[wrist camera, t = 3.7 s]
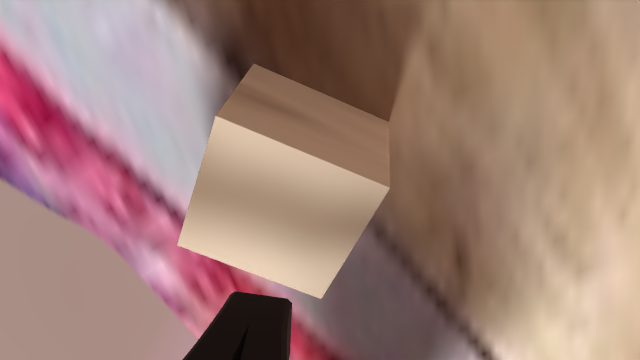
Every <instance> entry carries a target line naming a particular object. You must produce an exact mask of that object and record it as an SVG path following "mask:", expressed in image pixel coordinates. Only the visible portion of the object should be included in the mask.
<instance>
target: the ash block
mask: <svg viewBox="0 0 640 360" xmlns="http://www.w3.org/2000/svg"><path fill="white" fill-rule="evenodd" d="M389 189H390V143H389V122H388V121H386V120H383V119H381V118H379V117H376V116H374V115H372V114H369V113H367V112H365V111H362V110H360V109H358V108H356V107H353V106H351V105H349V104H346V103H344V102H342V101H339V100H337V99H335V98H332V97H330V96H328V95H325V94H323V93H321V92H319V91H316V90H314V89H312V88H309V87H307V86H305V85H302V84H300V83H298V82H295V81H293V80H291V79H288V78H286V77H284V76H282V75H279V74H277V73H275V72H272V71H270V70H268V69H265V68H263V67H261V66H258V65H256V64H253V65H252V67H251V68H250V69H249V71H248V72H247V74H246V75H245V76H244V78H243V79H242V80H241V82H240V83H239V84H238V86H237V87H236V89H235V90H234V91H233V93H232V94H231V95H230V97H229V98H228V100H227V101H226V102H225V104H224V105H223V106H222V108H221V109H220V110H219V112H218V113H217V115H216V116H215V120H214V123H213V126H212V130H211V133H210V136H209V140H208V143H207V147H206V150H205V153H204V157H203V160H202V163H201V167H200V170H199V174H198V177H197V180H196V184H195V187H194V190H193V194H192V197H191V201H190V204H189V207H188V211H187V214H186V217H185V221H184V224H183V228H182V231H181V234H180V238H179V241H178V244H177V245H178V246H181V247H183V248H186V249H189V250H191V251H194V252H197V253H199V254H202V255H205V256H207V257H210V258H213V259H215V260H218V261H221V262H223V263H226V264H229V265H231V266H234V267H237V268H239V269H242V270H245V271H247V272H250V273H253V274H255V275H258V276H261V277H263V278H266V279H269V280H271V281H274V282H277V283H279V284H282V285H285V286H287V287H290V288H293V289H295V290H298V291H301V292H303V293H306V294H309V295H311V296H314V297H317V298H319V299H322V297H323V296H324V294H325V292H326V291H327V289H328V287H329V286H330V284H331V283H332V281H333V279H334V278H335V276H336V275H337V273H338V271H339V270H340V268H341V266H342V265H343V263H344V262H345V260H346V258H347V257H348V255H349V254H350V252H351V250H352V249H353V247H354V245H355V244H356V242H357V241H358V239H359V237H360V236H361V234H362V233H363V231H364V229H365V228H366V226H367V225H368V223H369V221H370V220H371V218H372V216H373V215H374V213H375V212H376V210H377V208H378V207H379V205H380V204H381V202H382V200H383V199H384V197H385V195H386V194H387V192H388V191H389Z"/></svg>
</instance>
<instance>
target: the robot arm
mask: <svg viewBox="0 0 640 360" xmlns="http://www.w3.org/2000/svg"><path fill="white" fill-rule="evenodd" d="M291 314H292V303H291V302H290V301H289V300H288V299H285V298H278V297H271V296H264V295H257V294H250V293H242V292H234V293H232V294H231V295H230V296H229V298H228V299H227V301H226V302H225V304H224V305H223V307H222V308H221V310H220V311H219V313H218V314H217V316H216V317H215V318H214V320H213V321H212V323H211V324H210V325H209V327H208V328H207V329H206V331H205V332H204V333H203V335H202V336H201V337H200V339H199V340H198V341H197V343H196V344H195V345H194V346H193V348H192V349H191V350H190V351H189V353H188V354H187V355H186V356H185V357H184V359H183V360H289V355H290V339H291Z"/></svg>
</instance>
